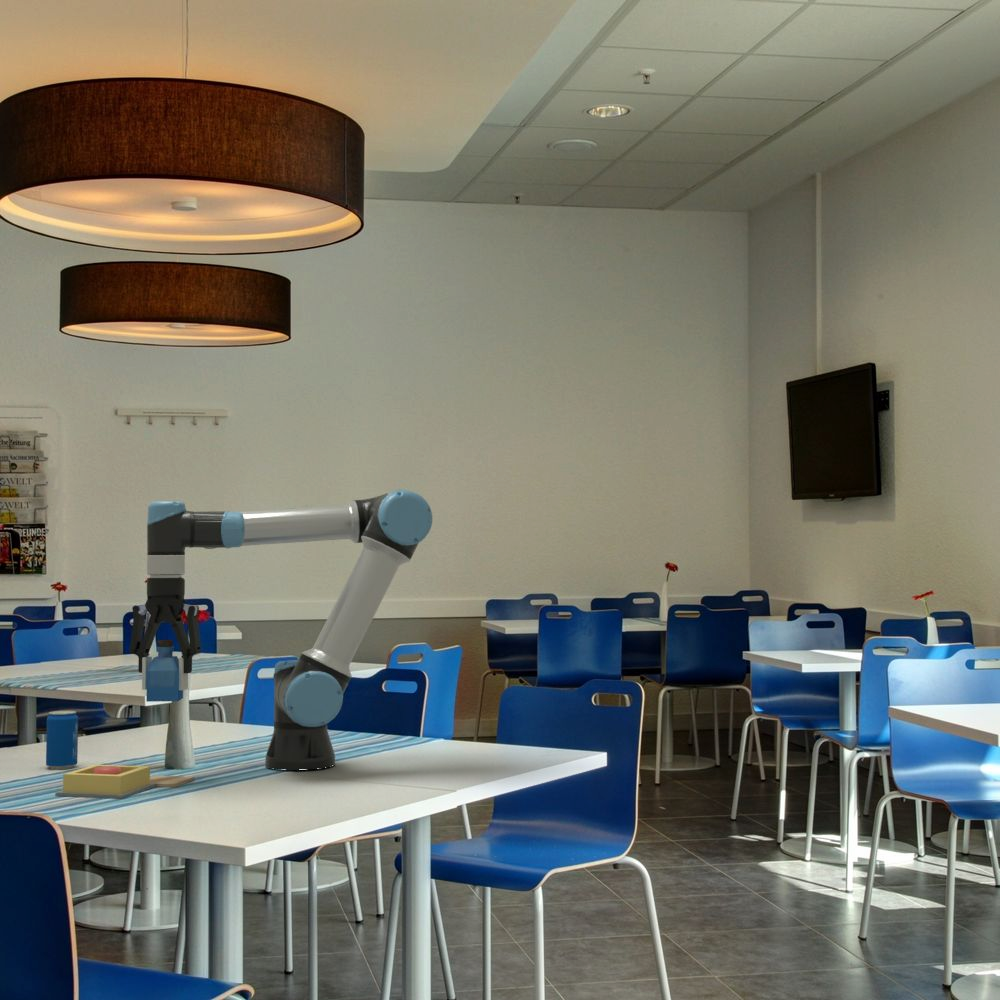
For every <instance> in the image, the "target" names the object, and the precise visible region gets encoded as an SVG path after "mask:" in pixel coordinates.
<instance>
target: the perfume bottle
mask: <svg viewBox="0 0 1000 1000" xmlns="http://www.w3.org/2000/svg"><path fill="white" fill-rule="evenodd" d="M173 644H174V640H173V639H172V640H171V639H169V640H168V639H164V640H163V639H160V640H159V639H158V640H157V646H156V652H157V656H155V657H152V662H151V663H150V665H149V667H148V669H147V689H146V694H145V695H146V699H145V700H146V702H149V703H151V702H152V703H154V702H179V701H182V699H183V698H184V690H179V657H178V656H177V655H173V652H174V651H175V646H173Z"/></svg>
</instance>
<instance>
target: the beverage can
mask: <svg viewBox="0 0 1000 1000" xmlns="http://www.w3.org/2000/svg"><path fill="white" fill-rule="evenodd" d="M78 736H79V716H78V715H77V711H75V710H56V711H49V712H48V716H47V718H46V741H45V742H46V743H45V744H46V745H45V747H46V750H45V752H46V753H45V766H47V767H49V769H50V770H71V769H73V768H74V767H75V766H76V765H77V764H78V752H79V751H78V749H79V745H78V743H79V742H78V741H79V737H78Z"/></svg>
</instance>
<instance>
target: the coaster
mask: <svg viewBox="0 0 1000 1000" xmlns="http://www.w3.org/2000/svg"><path fill="white" fill-rule="evenodd" d="M194 780H195V776H185V775H184V776H182V775H180V776H179V775H178V776H177V775H155V774H154V775H150V783H155V784H156V787H155V788H157V787H158V788H176V787H178V786H182V785H183V784H186V783H190V782H192V781H194ZM189 781H190V782H189ZM181 784H182V785H181Z"/></svg>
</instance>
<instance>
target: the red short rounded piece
mask: <svg viewBox="0 0 1000 1000" xmlns="http://www.w3.org/2000/svg"><path fill="white" fill-rule="evenodd" d="M94 774H110V775H118V774H121V767H118V766H103V767H96V768H94Z"/></svg>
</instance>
